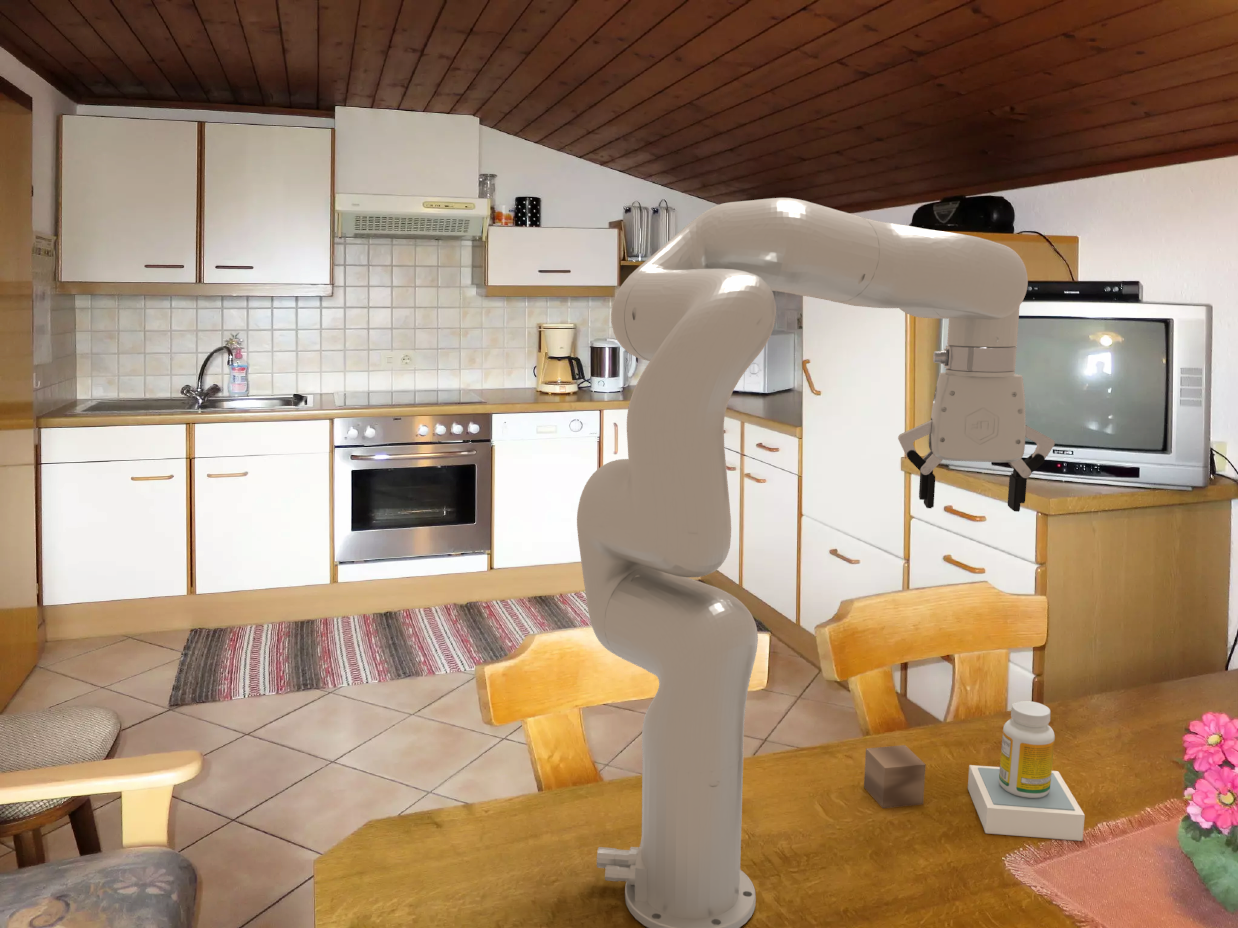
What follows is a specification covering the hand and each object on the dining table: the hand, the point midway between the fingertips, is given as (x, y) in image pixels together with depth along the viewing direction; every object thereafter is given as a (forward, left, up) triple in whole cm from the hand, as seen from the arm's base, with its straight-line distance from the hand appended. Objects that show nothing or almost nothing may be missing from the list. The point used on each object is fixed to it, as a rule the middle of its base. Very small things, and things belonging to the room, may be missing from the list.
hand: (970, 507), depth 117 cm
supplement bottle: (+6, -10, -30) cm, 32 cm away
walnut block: (-8, -8, -33) cm, 35 cm away
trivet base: (+6, -10, -33) cm, 35 cm away
